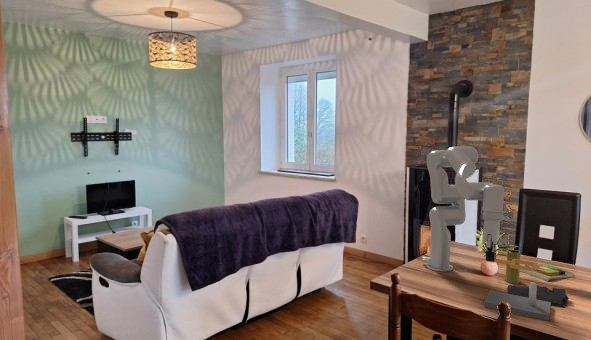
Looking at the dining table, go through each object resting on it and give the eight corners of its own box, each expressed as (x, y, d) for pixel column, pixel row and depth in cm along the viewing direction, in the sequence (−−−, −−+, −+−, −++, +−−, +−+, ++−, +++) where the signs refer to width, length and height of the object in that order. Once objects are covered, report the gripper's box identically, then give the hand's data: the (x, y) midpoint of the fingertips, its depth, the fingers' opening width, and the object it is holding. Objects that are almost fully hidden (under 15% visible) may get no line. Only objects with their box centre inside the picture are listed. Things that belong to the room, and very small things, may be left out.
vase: (521, 284, 187) (523, 253, 186) (506, 283, 188) (508, 252, 187) (517, 279, 193) (518, 249, 191) (503, 278, 194) (504, 248, 193)
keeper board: (484, 306, 163) (485, 279, 162) (489, 294, 175) (491, 269, 174) (548, 320, 151) (550, 291, 150) (550, 307, 163) (552, 279, 162)
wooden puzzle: (575, 277, 197) (575, 270, 196) (547, 282, 190) (548, 275, 189) (541, 266, 213) (541, 259, 212) (515, 270, 206) (515, 264, 205)
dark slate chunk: (505, 287, 184) (506, 277, 183) (562, 295, 175) (563, 284, 175) (508, 301, 170) (509, 290, 169) (571, 310, 161) (571, 298, 161)
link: (484, 263, 164) (485, 248, 164) (488, 257, 171) (489, 243, 171) (535, 271, 154) (536, 256, 153) (537, 265, 161) (538, 250, 161)
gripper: (486, 211, 174) (484, 253, 176) (478, 217, 161) (476, 263, 162) (506, 213, 170) (504, 256, 171) (499, 220, 156) (497, 267, 158)
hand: (490, 259), depth 167 cm, fingers closed on link, 3 cm apart
